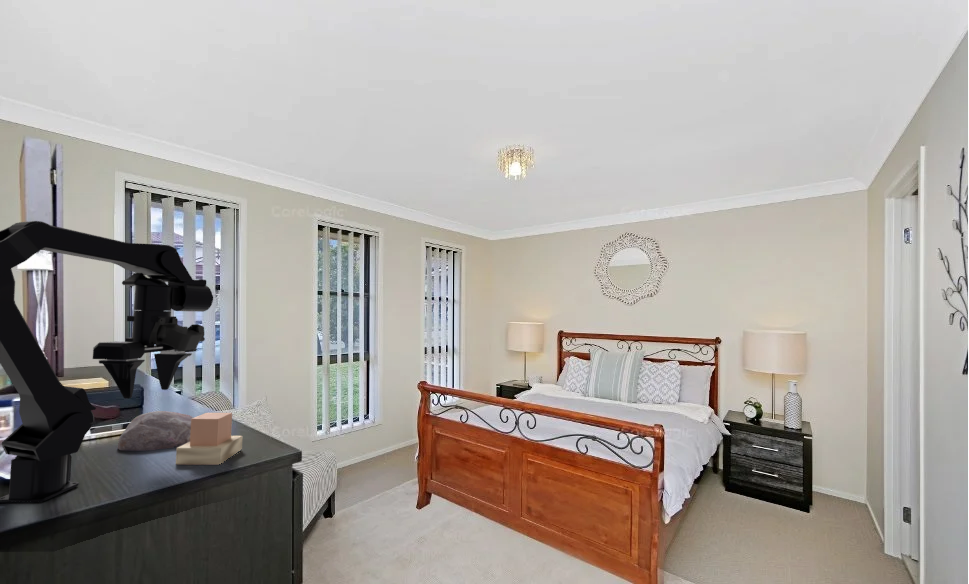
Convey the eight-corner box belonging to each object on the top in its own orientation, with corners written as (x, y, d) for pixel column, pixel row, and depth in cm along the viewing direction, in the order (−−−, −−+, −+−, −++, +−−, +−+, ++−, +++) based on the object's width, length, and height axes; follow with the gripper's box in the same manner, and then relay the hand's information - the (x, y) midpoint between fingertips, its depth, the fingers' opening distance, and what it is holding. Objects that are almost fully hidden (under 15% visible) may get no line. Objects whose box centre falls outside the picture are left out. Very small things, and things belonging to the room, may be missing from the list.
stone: (214, 462, 98) (219, 423, 105) (212, 439, 92) (217, 399, 98) (118, 474, 90) (130, 430, 97) (109, 449, 84) (122, 405, 91)
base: (220, 464, 81) (220, 448, 81) (175, 464, 81) (176, 448, 81) (241, 450, 89) (242, 435, 89) (201, 450, 89) (202, 435, 89)
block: (189, 445, 82) (191, 418, 83) (205, 437, 87) (206, 412, 88) (217, 445, 83) (218, 419, 83) (231, 437, 88) (232, 412, 88)
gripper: (159, 311, 74) (153, 404, 73) (224, 312, 92) (219, 386, 92) (93, 309, 74) (86, 403, 73) (171, 311, 92) (166, 385, 91)
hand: (147, 393), depth 82 cm, fingers open, 9 cm apart
